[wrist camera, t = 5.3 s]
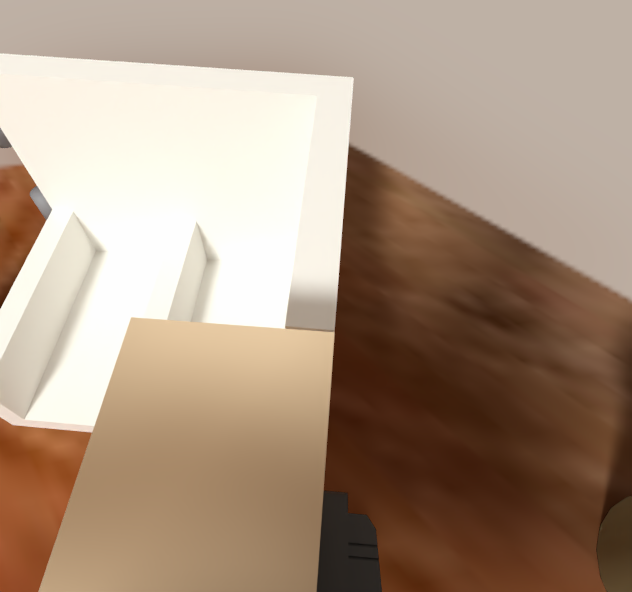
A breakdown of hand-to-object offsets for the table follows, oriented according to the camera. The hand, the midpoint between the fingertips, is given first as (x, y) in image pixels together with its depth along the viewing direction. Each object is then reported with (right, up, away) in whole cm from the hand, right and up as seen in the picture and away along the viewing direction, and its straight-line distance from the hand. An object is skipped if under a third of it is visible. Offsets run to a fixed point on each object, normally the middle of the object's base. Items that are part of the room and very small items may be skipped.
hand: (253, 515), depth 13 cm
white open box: (-5, +4, +11) cm, 13 cm away
